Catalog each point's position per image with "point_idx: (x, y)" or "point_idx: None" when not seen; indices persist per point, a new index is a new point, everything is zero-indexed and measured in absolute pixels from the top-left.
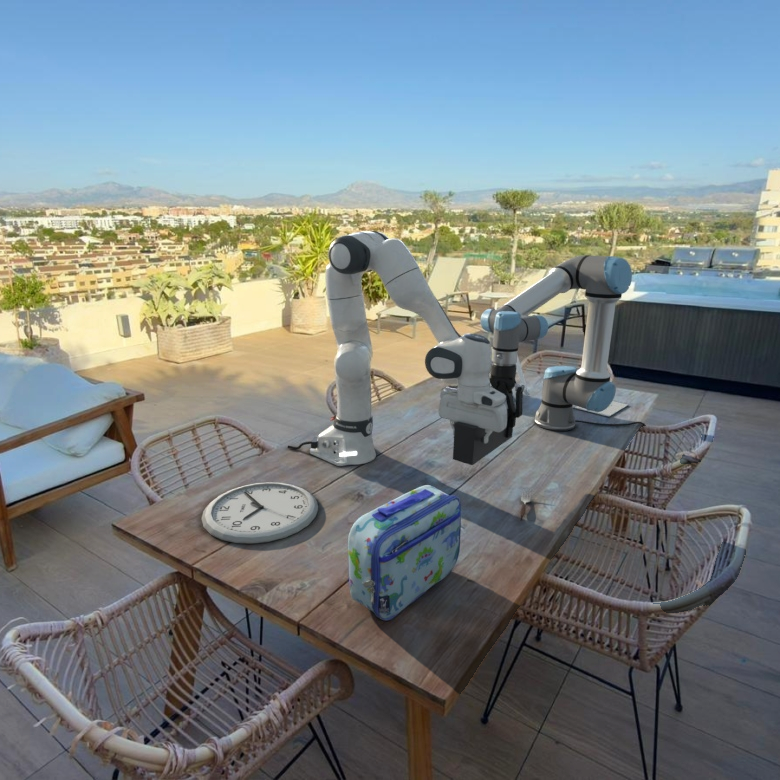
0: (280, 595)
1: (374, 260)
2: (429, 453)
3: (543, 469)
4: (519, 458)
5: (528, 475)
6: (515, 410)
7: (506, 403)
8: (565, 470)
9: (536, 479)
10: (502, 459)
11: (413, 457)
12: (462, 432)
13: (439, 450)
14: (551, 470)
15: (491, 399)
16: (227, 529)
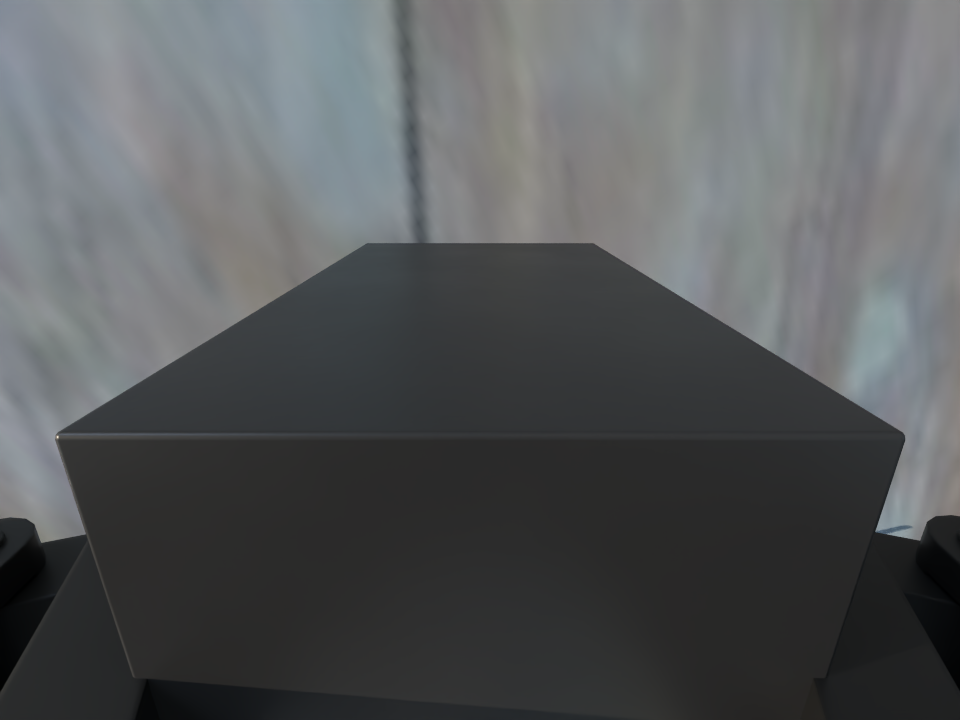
0: None
1: None
2: (63, 405)
3: (787, 143)
4: (575, 64)
5: (714, 301)
6: (897, 613)
7: (574, 552)
8: (947, 44)
9: (772, 322)
10: (476, 175)
11: (50, 503)
12: None
13: (65, 326)
14: (845, 119)
15: None
16: None
